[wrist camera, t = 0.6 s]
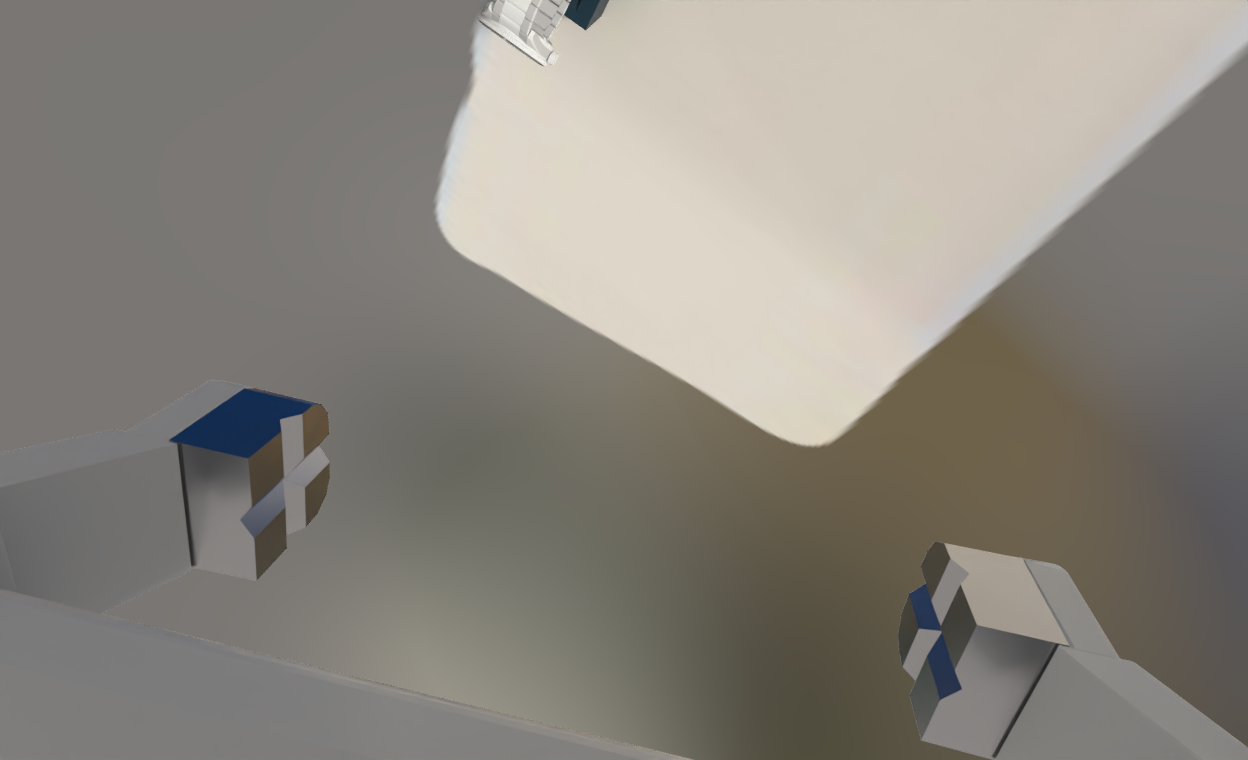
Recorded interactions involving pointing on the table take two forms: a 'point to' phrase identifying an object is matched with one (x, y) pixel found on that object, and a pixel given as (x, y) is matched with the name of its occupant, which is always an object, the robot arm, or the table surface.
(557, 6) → the watch
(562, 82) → the table surface
